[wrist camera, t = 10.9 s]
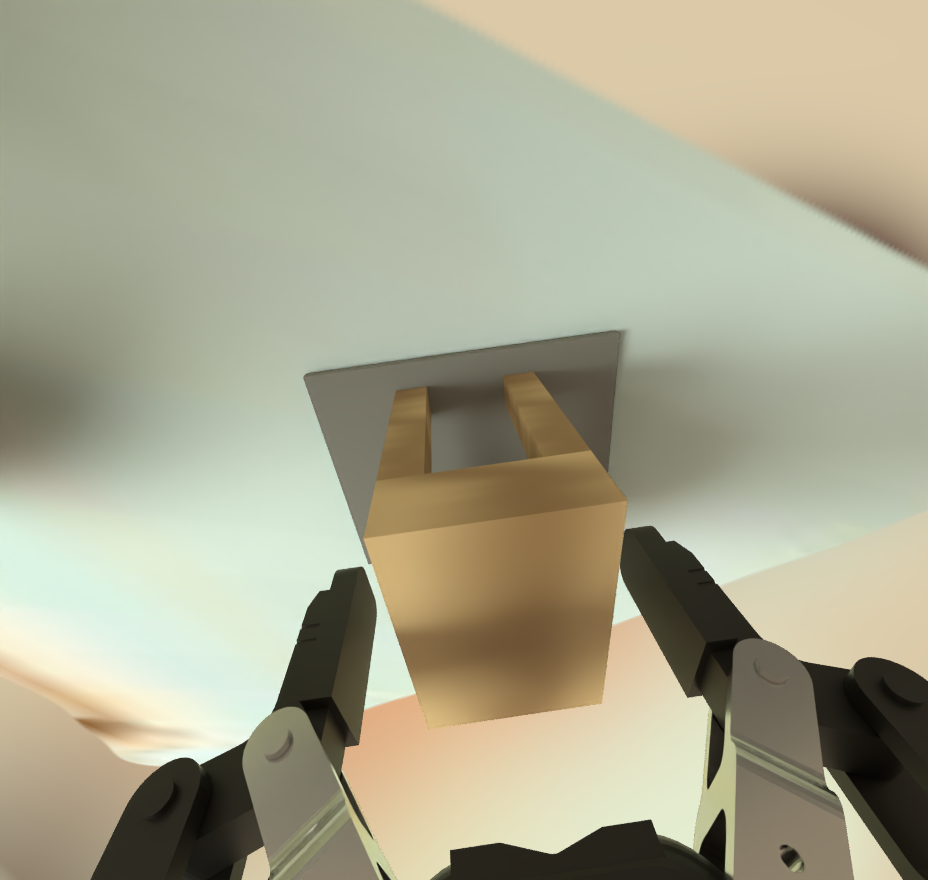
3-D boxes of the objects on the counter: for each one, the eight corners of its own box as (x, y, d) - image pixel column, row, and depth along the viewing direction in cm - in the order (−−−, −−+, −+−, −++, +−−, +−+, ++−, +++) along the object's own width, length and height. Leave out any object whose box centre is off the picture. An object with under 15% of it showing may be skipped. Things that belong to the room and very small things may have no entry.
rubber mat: (369, 558, 19) (368, 564, 19) (306, 373, 14) (303, 377, 14) (599, 524, 19) (602, 530, 19) (615, 330, 14) (620, 333, 14)
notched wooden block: (429, 541, 18) (428, 729, 11) (395, 390, 14) (363, 538, 8) (537, 525, 18) (601, 703, 12) (533, 371, 15) (627, 501, 8)
